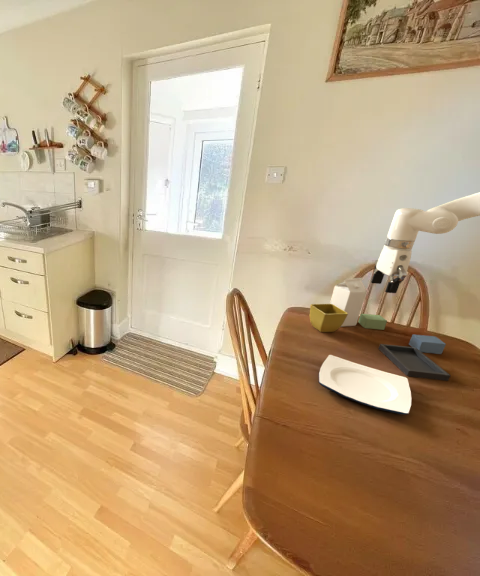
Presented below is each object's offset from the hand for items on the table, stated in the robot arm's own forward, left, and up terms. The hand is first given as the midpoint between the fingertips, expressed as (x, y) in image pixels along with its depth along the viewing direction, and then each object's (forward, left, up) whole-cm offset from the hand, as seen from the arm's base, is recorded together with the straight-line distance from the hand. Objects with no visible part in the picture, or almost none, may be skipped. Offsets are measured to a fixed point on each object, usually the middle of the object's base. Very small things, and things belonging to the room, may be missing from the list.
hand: (382, 287), depth 118 cm
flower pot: (+19, +8, -16) cm, 26 cm away
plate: (+22, +44, -16) cm, 52 cm away
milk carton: (+10, 0, -16) cm, 19 cm away
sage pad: (0, +1, -16) cm, 16 cm away
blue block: (-9, +16, -16) cm, 24 cm away
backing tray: (+1, +27, -16) cm, 31 cm away
